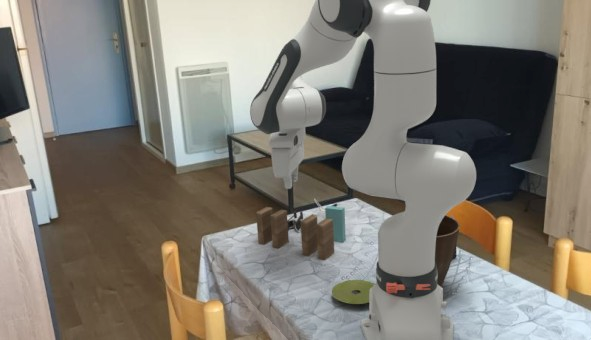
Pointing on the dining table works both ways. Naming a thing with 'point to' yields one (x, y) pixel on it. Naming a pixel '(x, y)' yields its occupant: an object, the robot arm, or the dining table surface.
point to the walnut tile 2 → (279, 228)
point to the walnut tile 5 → (325, 239)
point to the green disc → (352, 291)
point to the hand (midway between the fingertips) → (291, 184)
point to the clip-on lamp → (296, 221)
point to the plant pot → (445, 246)
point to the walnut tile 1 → (264, 225)
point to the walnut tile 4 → (309, 235)
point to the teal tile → (337, 222)
